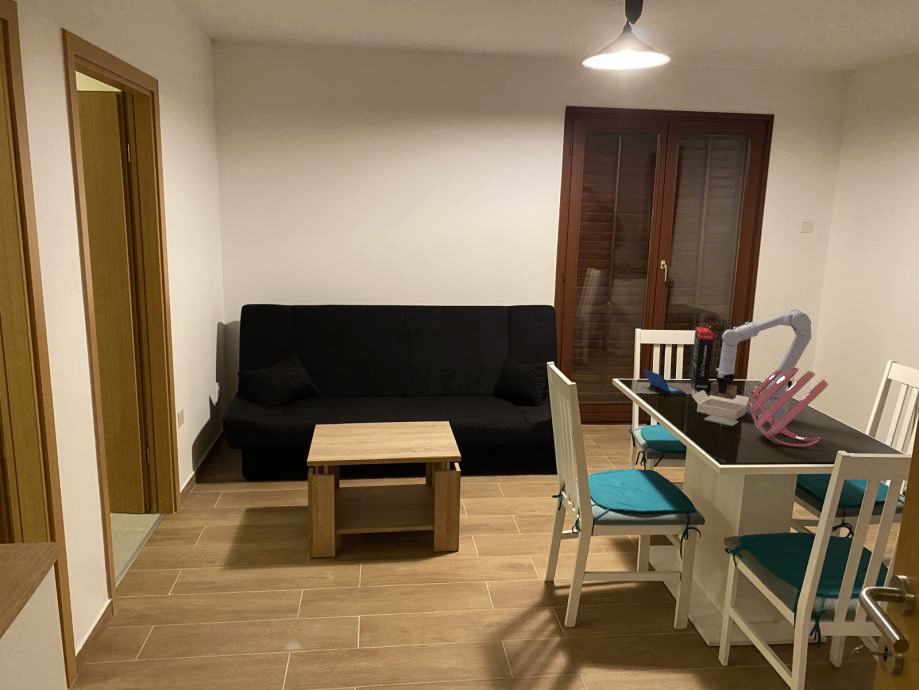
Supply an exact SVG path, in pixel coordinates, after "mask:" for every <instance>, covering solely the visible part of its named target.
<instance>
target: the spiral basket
mask: <svg viewBox="0 0 919 690" xmlns="http://www.w3.org/2000/svg"><path fill="white" fill-rule="evenodd" d="M799 371H800V368H798V367H794V368H791V369H790V370H789V371H787V372H786V373H785V374H784V375H783V376H782V377H781V378H780V379H779V380H778V381H777V382H776V383H774V384H773V385H772V386H771V387H770V388H769V389H768V390H767V391H766V390H765V388H766V387H767V386H768V385H769V384H770V383H771V382H772V381H773V380H774V379H775V378H776V377H777V376H778V375H779V374H780V373H781V372H782V369H779V370H777V369H776V370H775V371H774V372H772V373H771V374H770V375H769V376H768V377H767V378H765V380H764V381H763V382H761V384H757V386H756V385H755V387H754V388H753V391H751V392H752V393H751V395H750V402H749V403H750V404H749V411H750V414H751V415H750V416H751V417H752V420H753V422H754V426H755V427H756V428H757V429H758V430H759V431H760V432H761V433H762V434H763V435H764V437H765V438H766V439H768V440H770V441H772V442H774V443H776V444H779V445H782V446H785V447H790V448H791V447H792V448H804V447H808V446H812V445H813V446H814V445H815V444H817V443H819V441H820V440H821V437H805V436H800V435H798V434H796V433H794V432H791V430H788V429H787V428H786V426H787V425H788V424H789V423H791V422H792V421H793V420H794V419H795V418H796V417H797V416H798V415H799V414H800V413H802V411H804V409H805V408H807V407H808V406H809V405H810V404H811V403H812V402H813V401H814V400H815V399H816V398H817V397H818V396H819V395H820V394H821V393H822V392H823V391H824V390H825V389H826V388H827V387H828V386H829V383H828V381H826V380H825V379H822V380H820V381H819V382H818V383H817V384H816V385H815V386H814V387H813V388H811V390H810V391H809V392H808V393H806V394H805V395H804V396H803V397H802V398H801V399H800V400H799V401H798V402H797V403H796V404H795V405H794V406H793V407H792V408H791V409H789V410H788V413H787V414H785V415H784V416H783V417H782V418H781V419H780V420H779V421H776V420H774V419H773V415H774V414H775V413H776V412H777V411H778V410H779V409H780V408H781V407H782V406H783V405H784V404H785V403H786V402H787V401H788V400H789V401H790V400H792V399H791V398H793V397H794V396H795V395H796V394H797V393H798V392H799V391H800V390H801V389H802V388H803V387H804V386H806V384H808V382H810V380H812V379H813V378H814V376H816V373H815V372H814V371H810V370H808V371H806V372H805V373H804V374H803V375H802V376H801V377H800V378H799V379H798V380H797V381H795V382H794V383H793V384H792V385H791V386H790V387H789V388H788V389H786V392H785V393H784V394H783V395H782V396H781V397H780V398H779V399H778V400H777V401H776V402H775V403H774V404H773V405H771V406H770V407H769V408H768V409H767V410H766V409H765V407H764V404H765V403H766V402H767V401H768V400H769V399H770V398H771V397H772V396H773V395H774V394H775V393H776V392H777V391H778V390H780V389H781V388H782V387H783V386H784V385H785V384H786V383H787V382H788V383H789V381H790V380H791V379H792V378H793V376H795V375H796V374H797V373H798V372H799ZM764 390H765V392H764V393H763V394H762V395H761V393H762V392H763V391H764ZM755 398H756V399H755ZM753 400H756V401H753ZM757 411H760V415H761V413H762V415H761V416H760V417H759V418H758V417H757V416H756V412H757ZM766 423H768V424H769V425H770V426H771V427H770V429H769V430H768V431H767V430H765V429H764V428H763V425H764V424H766ZM779 433H781V434H783V435H785V436H787V437H788V438H791V439H795V440H797V441H801V442H802V441H803V442H805V443H799V444H795V443H788V442H785V441H782V440H779V439H777V438H776V436H777V435H778V434H779ZM806 442H807V443H806Z"/></svg>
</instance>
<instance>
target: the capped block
mask: <svg viewBox="0 0 919 690" xmlns="http://www.w3.org/2000/svg"><path fill="white" fill-rule="evenodd" d="M737 389H738V385H734V384H731V385H730V384H728V385H727V388H726V392H725V394H721V393H719V389H718V383H717V381H713V382H711V385H710V392H709V396H710V395H712V396H717V397H722V398H727V399H732V400H733V399H735V398H736V395H737V392H738V391H737Z"/></svg>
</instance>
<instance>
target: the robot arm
mask: <svg viewBox="0 0 919 690" xmlns="http://www.w3.org/2000/svg"><path fill="white" fill-rule="evenodd" d="M777 326H786V327H790V326H791V328H792V329H793V332H794V335H795V337H794V339H793V341H792V343H791V344H790V346H789V348H788V350H786V351H787V352H786V353H785V355H784V356H783V358H782V360H781V362H780V364H779V365H778V367H777V369H776V370H779V369H782V372H781V373H780V374H779V375H778V376H777V377H776V378H775V379H774V380H773V381H772V382H771V383H770V384H769V385H768V386H767V387H766V388H765V389H764V390H765V392H766V391H767V390H768V389H769V388H770V387H771V386H772V385H773V384H774V383H776V382H777V381H778V380H779V379H780V378H781V377H782V376H783V375H784V374H785V373H786V372H787V371H789V370H790V369H791V368H796V366H797V364H798V362H799V360H800V358H801V357H802V355H803V354H804V352H805V349H806V348H807V347H808V345H809V343H810V342H811V339H812V321H811V319H810V317H809V316H808V314H807V313H805V312H803V311H801V310H799V309H792V310H790V311H785V312H781V313H780V314H777V315H775V316H772V317H769V318H767V319H764V320H762V321H760V322H757V323H755V322H752V321H751V322H749V321H747V322H744V324H743V325H739V326H737V327H736V326H733V327H732V329H731V328H730V329H726V330H724V332H723V333H722V335H721V339H722V345H721V346H722V347H721V351H720V359H719V367H718V368H716V369H715V371H716V372H717V374H716V375H715V379H716V382H717V383H718V389H719V393H721V394H725V392H726V388H727V385H728V384H730V385H733V384H732V383H733V381H734V380H735V378H737V377H736V376H737V375H736V374H735V369H736V359H737V351H738V349H737V348H738V344H739V343H740V342H743V341H746V340H748V339H752V338H755V337H756V336H758V335H759V333H760V332H762V331H764V330H767V329H771V328H774V327H777ZM788 384H789V381H788V382H787V383H786V384H785V385H784V386H783V387H782V388H781V389H780V390H778V391H777V392H776V393H775V394H774V395H773V396H772V397H771V398H770V399H769V400H768V401H767V402H766V403H765V404H764V407H765V409H766V410H767V409H768V408H769V407H770V406H771V405H773V404H774V403H775V402H776V401H777V400H778V399H779V398H780V397H781V396H782V395H783V394H784V393H785V392H786V391H787V389H786V388H787V386H788ZM789 411H790V400H788V401H787V402H786V403H785V404H784V405H783V406H782V407H781V408H780V409H779V410H778V411H777V412H776V413H775V414H774V415H773V419H774V420H776V421H779V420H780V419H781V418H782V417H783V416H784V415H785V414H787V413H788V412H789ZM761 415H762V413H761V412H760V414H758V416H757V419H758V418H759V417H760V416H761Z"/></svg>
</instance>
